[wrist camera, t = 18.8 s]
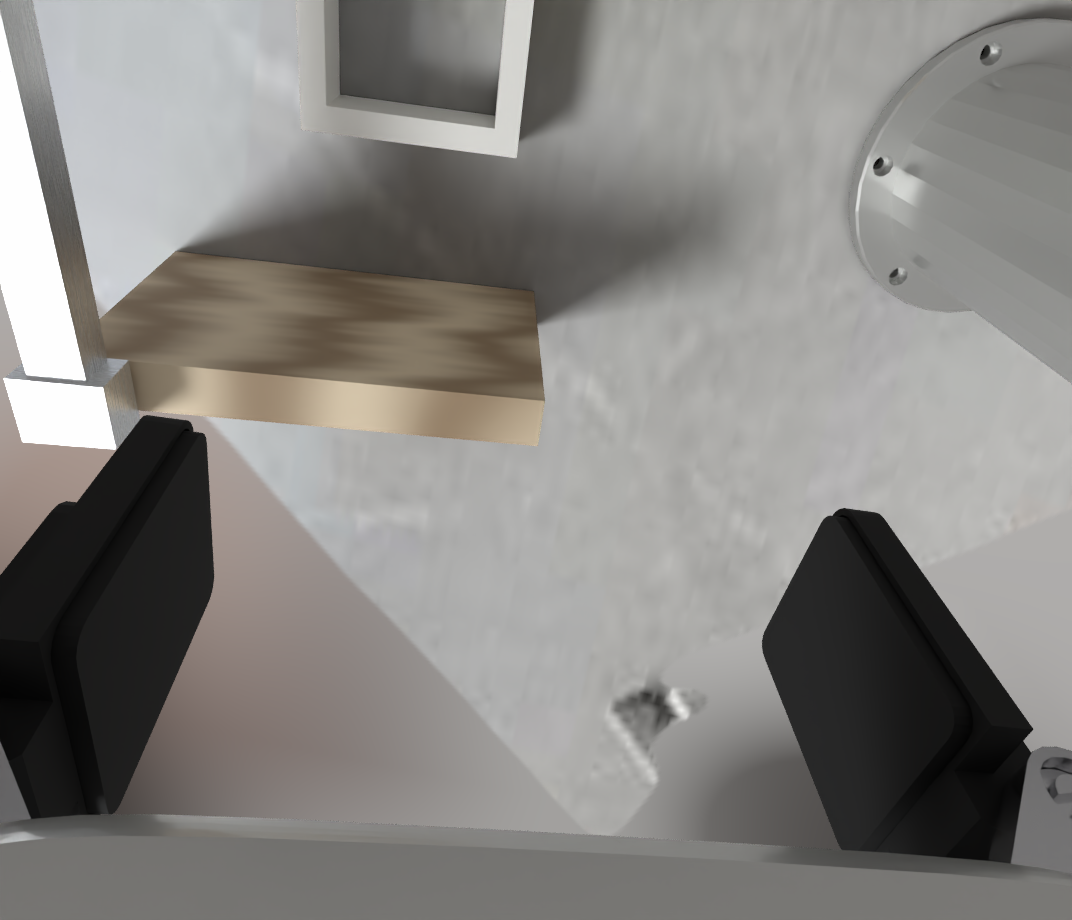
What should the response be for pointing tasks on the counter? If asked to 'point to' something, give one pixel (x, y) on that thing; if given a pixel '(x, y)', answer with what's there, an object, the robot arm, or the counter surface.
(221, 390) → the wooden block
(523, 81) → the hollow square frame
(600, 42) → the counter surface
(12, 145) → the bar
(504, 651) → the counter surface
